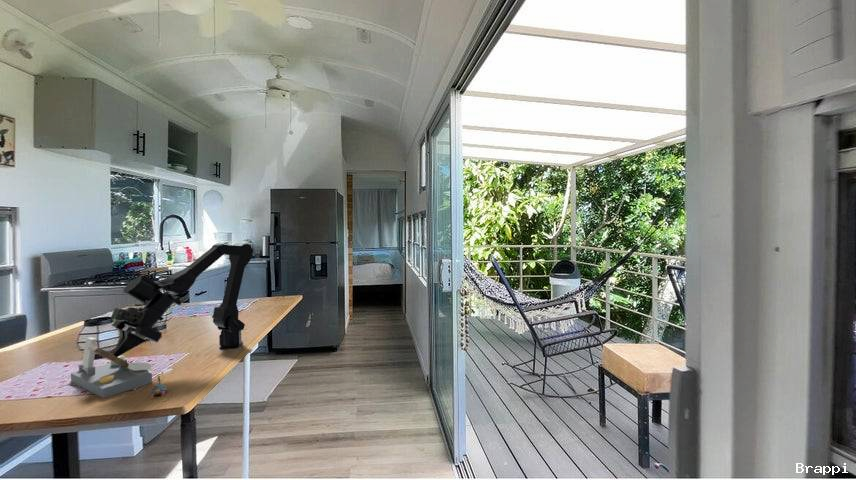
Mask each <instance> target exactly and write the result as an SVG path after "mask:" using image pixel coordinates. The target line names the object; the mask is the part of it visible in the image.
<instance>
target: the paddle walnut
mask: <svg viewBox="0 0 856 480" xmlns="http://www.w3.org/2000/svg"><path fill="white" fill-rule="evenodd" d="M88 349H89V350H91V351H93V352H95V354H97V355H99V356H101V357H104V358H105V359H107V360H109V361H110V362H111V361H113V362H115V363H117V364H119V365H121V366H124V367H126V368H127V367H128V366H129V363H130V362H129V363H127V362H128V361H127V362H126V361H124V360H125V359H124V360H122V359H120V358H118V357H116V356H114V355H113V353H110V352H108V351H107V350H104V349H103V348H101V347H99V346H97V345H96V346H94V345H91V346H90V347H89V348H88Z"/></svg>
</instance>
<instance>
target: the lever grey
mask: <svg viewBox="0 0 856 480" xmlns="http://www.w3.org/2000/svg"><path fill="white" fill-rule="evenodd" d="M97 341H98V339H97V338H95V337H92V336H90V337H86V338H85V343H84V345H85V346H84V350H83V358H82V363H81V364H82V366H84V368H86V369H87V368H89V367H93V366H94V362H95V357H96V353H95V352H93V351H91V350H89V349H88V348H89V347H90V346H91V345H94V346H97Z"/></svg>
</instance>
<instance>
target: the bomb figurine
mask: <svg viewBox="0 0 856 480" xmlns="http://www.w3.org/2000/svg"><path fill="white" fill-rule="evenodd" d="M160 377H161V376H160V375H157V379H156V381H157V382H158V385H157V386H155V387H154V388H153V389H152V391H151V395H150V397H149V398H150V399H155V398H156V396H158V395H159V396H160V397H165V396H166V395H167V394H166V392H167V391H168V390H169V389H168V387H167V386H165V385H162V384H161V379H160Z"/></svg>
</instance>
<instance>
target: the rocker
mask: <svg viewBox="0 0 856 480" xmlns="http://www.w3.org/2000/svg"><path fill="white" fill-rule="evenodd" d="M128 368H129V369H131V370H134V371H137V370H148V371H150V370H152V363H148V362H146V361H143V362H141V361H140V362H129V366H128Z"/></svg>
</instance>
